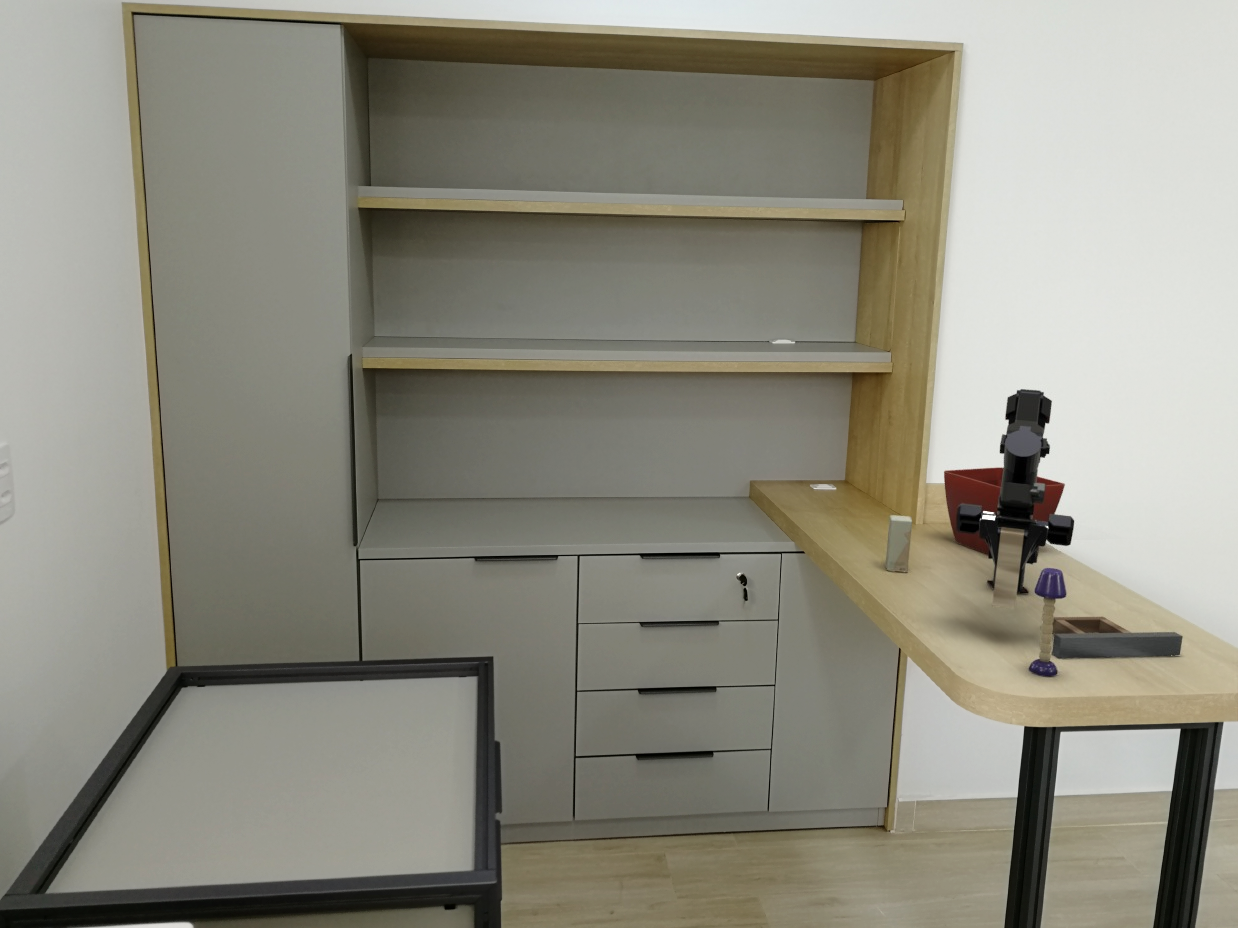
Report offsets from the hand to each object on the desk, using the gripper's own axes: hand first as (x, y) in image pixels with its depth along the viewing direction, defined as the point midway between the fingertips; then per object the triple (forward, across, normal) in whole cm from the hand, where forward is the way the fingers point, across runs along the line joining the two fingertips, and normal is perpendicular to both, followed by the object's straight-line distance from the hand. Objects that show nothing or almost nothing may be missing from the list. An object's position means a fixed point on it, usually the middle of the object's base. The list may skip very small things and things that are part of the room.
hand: (1008, 566), depth 173 cm
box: (-16, -22, +36) cm, 45 cm away
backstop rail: (+7, +18, +12) cm, 23 cm away
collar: (+3, +15, +16) cm, 22 cm away
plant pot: (-37, -4, +57) cm, 68 cm away
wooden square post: (+4, 0, +6) cm, 7 cm away
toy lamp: (+17, +7, +2) cm, 18 cm away
